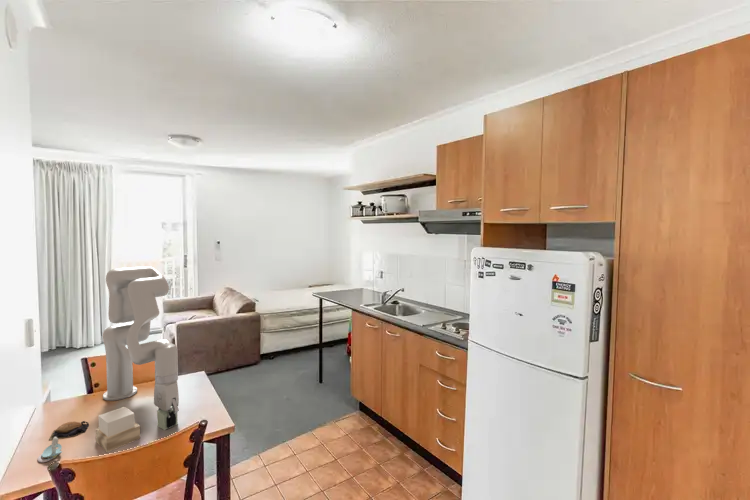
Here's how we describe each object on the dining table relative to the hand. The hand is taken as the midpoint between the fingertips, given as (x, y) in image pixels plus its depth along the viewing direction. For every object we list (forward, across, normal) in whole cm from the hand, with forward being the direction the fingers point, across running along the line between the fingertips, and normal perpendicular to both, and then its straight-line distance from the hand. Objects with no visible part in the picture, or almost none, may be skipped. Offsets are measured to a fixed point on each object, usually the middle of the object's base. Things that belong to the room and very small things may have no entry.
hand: (167, 423), depth 139 cm
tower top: (-4, -4, -15) cm, 16 cm away
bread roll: (+1, -24, -23) cm, 33 cm away
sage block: (+1, 0, 0) cm, 1 cm away
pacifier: (+1, -11, -32) cm, 34 cm away
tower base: (+1, -4, -15) cm, 16 cm away
